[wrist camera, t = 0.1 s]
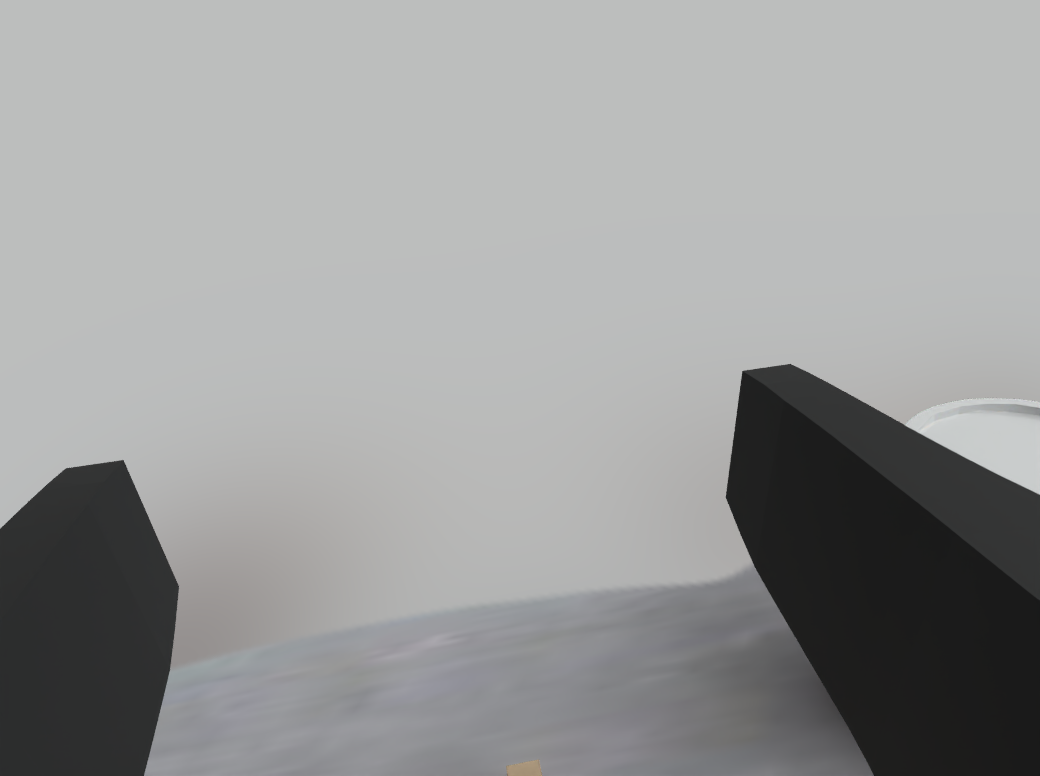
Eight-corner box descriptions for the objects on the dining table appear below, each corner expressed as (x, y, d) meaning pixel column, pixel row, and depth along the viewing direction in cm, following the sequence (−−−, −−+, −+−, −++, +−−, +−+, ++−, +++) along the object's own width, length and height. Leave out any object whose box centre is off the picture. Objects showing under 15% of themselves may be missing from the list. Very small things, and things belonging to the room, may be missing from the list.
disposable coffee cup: (1133, 898, 24) (1303, 627, 18) (813, 783, 28) (865, 528, 22) (1096, 668, 32) (1208, 420, 26) (845, 602, 35) (890, 372, 29)
